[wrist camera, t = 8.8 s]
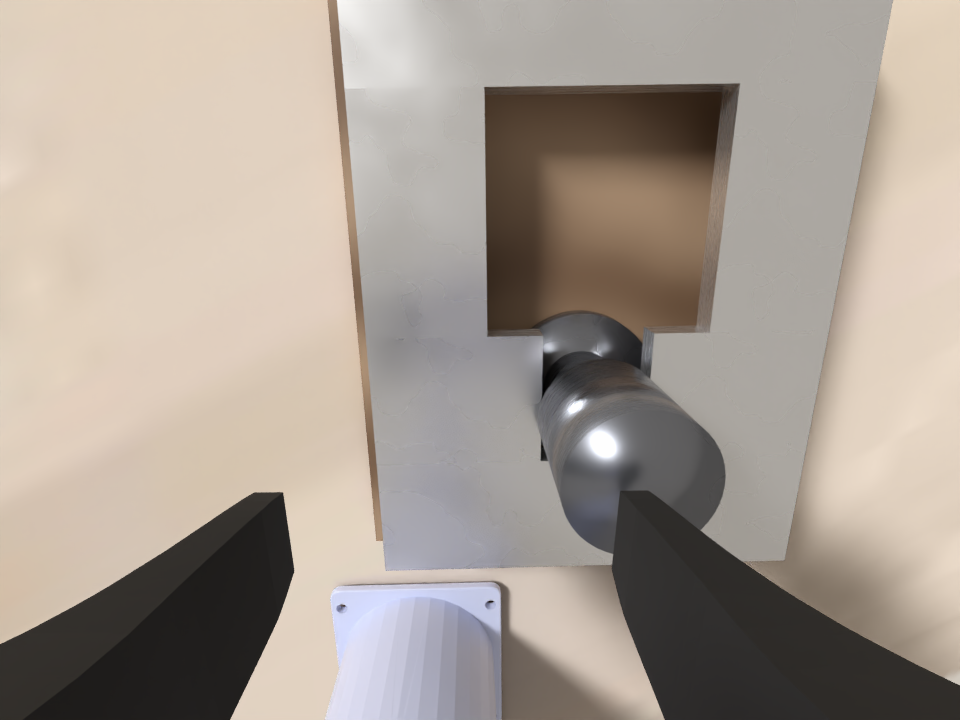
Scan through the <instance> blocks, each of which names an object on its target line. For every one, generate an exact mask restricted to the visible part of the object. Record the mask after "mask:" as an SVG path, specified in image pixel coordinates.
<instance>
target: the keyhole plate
mask: <svg viewBox="0 0 960 720" xmlns="http://www.w3.org/2000/svg"><path fill="white" fill-rule="evenodd" d="M892 3H893V0H337V7H338V18H339V30H340V42H341V53H342V65H343V77H344V89H345V100H346V112H347V124H348V135H349V147H350V159H351V170H352V182H353V194H354V205H355V217H356V229H357V241H358V252H359V264H360V276H361V287H362V299H363V311H364V322H365V334H366V346H367V357H368V369H369V381H370V393H371V404H372V416H373V428H374V439H375V451H376V463H377V474H378V486H379V498H380V509H381V521H382V533H383V545H384V556H385V568H386V571H391V570H431V569H470V568H509V567H548V566H588V565H612V561H613V554H611V553H608V552H605V551H602V550H600V549H598V548H596V547H594V546H592V545H591V544H589V543H588V542H586V541H585V540H584V539H582V538H581V537H580V536H579V535H578V534H577V533H576V532H575V530H574V529H573V528H572V526H571V525H570V524H569V522H568V520H567V518H566V516H565V513H564V510H563V507H562V504H561V501H560V498H559V494H558V491H557V488H556V485H555V482H554V478H553V475H552V472H551V469H550V465H549V462H548V459H547V456H546V452H545V449H544V448H541V436H540V433H539V428H538V412H539V407H540V403H541V401H542V369H543V335H542V333H541V331H540V330H539V329H504V330H487V262H486V179H485V96H484V95H530V94H603V93H675V92H723V93H722V102H721V110H720V119H719V128H718V137H717V146H716V155H715V163H714V172H713V181H712V190H711V199H710V207H709V216H708V225H707V234H706V243H705V252H704V260H703V269H702V278H701V287H700V296H699V305H698V313H697V322H696V326H657V327H644V332H643V344H642V356H641V368H640V370H641V371H642V372H643V373H644V374H645V375H647V376H648V377H649V378H650V379H651V380H652V381H653V382H654V383H655V384H656V385H657V386H658V387H659V388H661V389H662V390H663V391H664V392H665V393H666V394H667V395H668V396H669V397H670V398H671V399H672V400H674V401H675V402H676V403H677V404H678V405H679V406H680V407H681V408H682V409H683V410H684V411H685V412H686V413H688V414H689V415H690V416H691V417H692V418H693V419H694V420H695V421H696V422H697V423H698V424H699V425H701V426H702V427H703V428H704V429H705V430H706V431H707V432H708V433H709V434H710V435H711V437H712V438H713V439H714V440H715V442H716V444H717V445H718V447H719V449H720V451H721V454H722V456H723V460H724V464H725V473H726V479H725V488H724V492H723V496H722V499H721V501H720V504H719V506H718V508H717V510H716V512H715V513H714V515H713V516H712V518H711V519H710V520H709V522H708V523H707V524H706V525H705V526H704V527H703V528H702V529H701V530H700V531H702V532H703V533H704V534H706V535H707V536H708V537H710V538H711V539H712V540H713V541H715V542H716V543H717V544H719V545H720V546H721V547H723V548H724V549H725V550H727V551H728V552H730V553H731V554H732V555H734V556H735V557H736V558H738V559H739V560H741V561H742V562H744V561H784V560H785V556H786V550H787V545H788V540H789V535H790V530H791V525H792V519H793V514H794V509H795V504H796V499H797V494H798V488H799V483H800V478H801V473H802V468H803V463H804V457H805V452H806V447H807V442H808V437H809V432H810V426H811V421H812V416H813V411H814V406H815V401H816V395H817V390H818V385H819V380H820V375H821V370H822V364H823V359H824V354H825V349H826V344H827V339H828V333H829V328H830V323H831V318H832V313H833V308H834V302H835V297H836V292H837V287H838V282H839V277H840V271H841V266H842V261H843V256H844V251H845V246H846V240H847V235H848V230H849V225H850V220H851V215H852V209H853V204H854V199H855V194H856V189H857V184H858V178H859V173H860V168H861V163H862V158H863V153H864V147H865V142H866V137H867V132H868V127H869V122H870V116H871V111H872V106H873V101H874V96H875V91H876V86H877V80H878V75H879V70H880V65H881V60H882V55H883V49H884V44H885V39H886V34H887V29H888V24H889V18H890V13H891V8H892Z"/></svg>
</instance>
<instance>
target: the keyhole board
mask: <svg viewBox="0 0 960 720" xmlns="http://www.w3.org/2000/svg"><path fill="white" fill-rule="evenodd" d="M328 10H329V21H330V33H331V44H332V55H333V66H334V77H335V88H336V99H337V110H338V121H339V132H340V143H341V154H342V166H343V177H344V188H345V199H346V210H347V221H348V232H349V243H350V254H351V265H352V276H353V287H354V299H355V310H356V321H357V332H358V343H359V354H360V365H361V376H362V387H363V398H364V409H365V420H366V432H367V443H368V454H369V465H370V476H371V487H372V498H373V509H374V520H375V531H376V541H383V533H382V521H381V509H380V498H379V486H378V474H377V463H376V451H375V439H374V428H373V416H372V404H371V393H370V381H369V369H368V357H367V346H366V334H365V322H364V311H363V299H362V287H361V276H360V264H359V252H358V241H357V229H356V217H355V205H354V194H353V182H352V170H351V159H350V147H349V135H348V124H347V112H346V100H345V89H344V77H343V65H342V53H341V42H340V30H339V18H338V7H337V0H328ZM722 93H723V92H675V93H603V94H530V95H484V96H485V179H486V262H487V330H504V329H531V328H532V327H533V326H534V325H536V324H537V323H539V322H540V321H542V320H544V319H546V318H548V317H550V316H552V315H555V314H558V313H562V312H567V311H575V310H585V311H593V312H598V313H601V314H604V315H607V316H609V317H611V318H613V319H615V320H616V321H618V322H619V323H621V324H622V325H624V326H625V327H626V328H628V329H629V330H630V331H631V332H632V333H633V334H635V335H636V337H637V338H638V339H639V340H640V341H641V343H642V344H643V332H644V327H657V326H696V322H697V313H698V305H699V296H700V287H701V278H702V269H703V260H704V252H705V243H706V234H707V225H708V216H709V207H710V199H711V190H712V181H713V172H714V163H715V155H716V146H717V137H718V128H719V119H720V110H721V102H722ZM541 448H544V446H543V445H542V444H541Z"/></svg>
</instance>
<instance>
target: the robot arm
mask: <svg viewBox="0 0 960 720" xmlns="http://www.w3.org/2000/svg"><path fill="white" fill-rule="evenodd" d="M612 572H613V576H614V580H615V584H616V588H617V592H618V596H619V599H620V603H621V607H622V610H623V614H624V617H625V620H626V622H627V625H628V627H629V630H630V633H631V635H632V638H633V640H634V643H635V645H636V648H637V651H638V653H639V656H640V658H641V661H642V663H643V666H644V668H645V671H646V673H647V676H648V678H649V681H650V683H651V686H652V688H653V691H654V693H655V696H656V698H657V701H658V703H659V706H660V708H661V711H662V713H663V716H664V718H665V720H960V685H958V684H955V683H953V682H951V681H949V680H947V679H945V678H943V677H941V676H939V675H937V674H935V673H933V672H930V671H928V670H926V669H924V668H922V667H920V666H918V665H916V664H914V663H912V662H910V661H908V660H906V659H904V658H902V657H901V656H899V655H897V654H895V653H893V652H891V651H889V650H887V649H885V648H883V647H881V646H879V645H877V644H876V643H874V642H872V641H870V640H868V639H866V638H864V637H862V636H860V635H859V634H857V633H855V632H853V631H851V630H850V629H848V628H846V627H844V626H842V625H841V624H839V623H837V622H836V621H834V620H832V619H830V618H829V617H827V616H825V615H824V614H822V613H820V612H819V611H817V610H815V609H814V608H812V607H810V606H809V605H807V604H805V603H804V602H802V601H800V600H799V599H797V598H795V597H794V596H792V595H791V594H789V593H788V592H786V591H785V590H783V589H781V588H780V587H778V586H777V585H775V584H774V583H772V582H771V581H770V580H768V579H767V578H765V577H764V576H762V575H761V574H759V573H758V572H756V571H755V570H753V569H752V568H750V567H749V566H748V565H746V564H745V563H743V562H742V561H741V560H739V559H738V558H736V557H735V556H734V555H732V554H731V553H730V552H728V551H727V550H725V549H724V548H723V547H721V546H720V545H719V544H717V543H716V542H715V541H713V540H712V539H711V538H710V537H708V536H707V535H706V534H704V533H703V532H702V531H700V530H699V529H698V528H697V527H695V526H694V525H693V524H691V523H690V522H689V521H688V520H686V519H685V518H684V517H683V516H681V515H680V514H679V513H678V512H676V511H675V510H674V509H672V508H671V507H670V506H669V505H667V504H666V503H665V502H663V501H662V500H661V499H660V498H658V497H657V496H656V495H654V494H653V493H651V492H650V491H648V490H638V491H620V495H619V505H618V514H617V523H616V533H615V542H614V552H613V561H612ZM293 574H294V565H293V558H292V551H291V545H290V538H289V531H288V524H287V517H286V510H285V503H284V496H283V492H275V493H253V494H251V495H249V496H248V497H246V498H244V499H243V500H241V501H239V502H238V503H236V504H235V505H233V506H232V507H230V508H229V509H227V510H226V511H224V512H223V513H221V514H220V515H218V516H217V517H215V518H214V519H213V520H211V521H210V522H208V523H207V524H205V525H204V526H202V527H201V528H199V529H198V530H196V531H195V532H193V533H192V534H190V535H189V536H187V537H186V538H184V539H183V540H181V541H180V542H178V543H177V544H175V545H174V546H172V547H171V548H169V549H168V550H166V551H165V552H163V553H162V554H160V555H158V556H157V557H155V558H154V559H152V560H150V561H149V562H147V563H146V564H144V565H142V566H141V567H139V568H138V569H136V570H134V571H133V572H131V573H130V574H128V575H126V576H125V577H123V578H122V579H120V580H118V581H117V582H115V583H114V584H112V585H110V586H109V587H107V588H105V589H104V590H102V591H100V592H98V593H97V594H95V595H93V596H92V597H90V598H88V599H86V600H84V601H83V602H81V603H79V604H77V605H76V606H74V607H72V608H70V609H68V610H66V611H64V612H63V613H61V614H59V615H57V616H55V617H53V618H51V619H50V620H48V621H46V622H44V623H42V624H40V625H38V626H36V627H34V628H32V629H31V630H29V631H27V632H25V633H23V634H21V635H19V636H16V637H14V638H12V639H10V640H8V641H6V642H4V643H2V644H0V720H230V719H231V717H232V715H233V713H234V710H235V708H236V706H237V704H238V702H239V700H240V698H241V696H242V694H243V692H244V690H245V688H246V686H247V684H248V681H249V679H250V677H251V675H252V673H253V671H254V669H255V667H256V665H257V663H258V661H259V659H260V657H261V655H262V652H263V650H264V648H265V646H266V644H267V642H268V640H269V638H270V636H271V633H272V631H273V629H274V627H275V625H276V623H277V620H278V618H279V616H280V613H281V610H282V607H283V604H284V601H285V598H286V596H287V592H288V589H289V586H290V583H291V580H292V577H293ZM490 600H492V601H494V602H493V603H487V601H490ZM330 601H331V608H332V616H333V624H334V632H335V640H336V648H337V656H338V664H339V672H338V676H337V679H336V683H335V686H334V690H333V693H332V696H331V700H330V703H329V707H328V710H327V714H326V717H325V720H502V690H501V590H500V587H499V586H498V584H496V583H493V582H475V583H436V584H397V585H359V586H339V587H336V588H335V589H334V590H333V592H332V594H331V599H330ZM340 604H343V605H345V606H347V607H342V606H340Z"/></svg>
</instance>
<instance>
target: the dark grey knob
mask: <svg viewBox="0 0 960 720" xmlns="http://www.w3.org/2000/svg"><path fill="white" fill-rule="evenodd" d="M531 329H539V330H540V331H541V333H542V335H543V369H542V401H541V403H540V407H539V412H538V428H539V433H540V436H541V444H542V445H543V446H544V449H545V452H546V456H547V459H548V462H549V465H550V469H551V472H552V475H553V478H554V482H555V485H556V488H557V491H558V494H559V498H560V501H561V504H562V507H563V510H564V513H565V516H566V518H567V520H568V522H569V524H570V525H571V526H572V528H573V529H574V530H575V532H576V533H577V534H578V535H579V536H580V537H581V538H582V539H584V540H585V541H586V542H588V543H589V544H591V545H592V546H594V547H596V548H598V549H600V550H602V551H605V552H608V553H611V554H613V552H614V542H615V533H616V523H617V514H618V505H619V495H620V491H638V490H648V491H650V492H651V493H653V494H654V495H656V496H657V497H658V498H660V499H661V500H662V501H663V502H665V503H666V504H667V505H669V506H670V507H671V508H672V509H674V510H675V511H676V512H678V513H679V514H680V515H681V516H683V517H684V518H685V519H686V520H688V521H689V522H690V523H691V524H693V525H694V526H695V527H697V528H698V529H699V530H701V529H702V528H703V527H704V526H705V525H706V524H707V523H708V522H709V520H710V519H711V518H712V516H713V515H714V513H715V512H716V510H717V508H718V506H719V504H720V501H721V499H722V496H723V492H724V488H725V479H726V473H725V464H724V460H723V456H722V454H721V451H720V449H719V447H718V445H717V444H716V442H715V440H714V439H713V438H712V437H711V435H710V434H709V433H708V432H707V431H706V430H705V429H704V428H703V427H702V426H701V425H699V424H698V423H697V422H696V421H695V420H694V419H693V418H692V417H691V416H690V415H689V414H688V413H686V412H685V411H684V410H683V409H682V408H681V407H680V406H679V405H678V404H677V403H676V402H675V401H674V400H672V399H671V398H670V397H669V396H668V395H667V394H666V393H665V392H664V391H663V390H662V389H661V388H659V387H658V386H657V385H656V384H655V383H654V382H653V381H652V380H651V379H650V378H649V377H648V376H647V375H645V374H644V373H643V372H642V371H641V370H640V368H641V356H642V343H641V341H640V340H639V339H638V338H637V337H636V335H635V334H633V333H632V332H631V331H630V330H629V329H628V328H626V327H625V326H624V325H622V324H621V323H619V322H618V321H616V320H615V319H613V318H611V317H609V316H607V315H604V314H601V313H598V312H593V311H585V310H575V311H567V312H562V313H558V314H555V315H552V316H550V317H548V318H546V319H544V320H542V321H540V322H539V323H537V324H536V325H534V326H533V327H532V328H531Z"/></svg>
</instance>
